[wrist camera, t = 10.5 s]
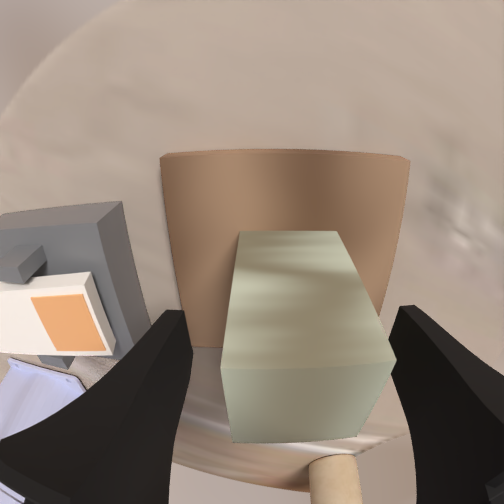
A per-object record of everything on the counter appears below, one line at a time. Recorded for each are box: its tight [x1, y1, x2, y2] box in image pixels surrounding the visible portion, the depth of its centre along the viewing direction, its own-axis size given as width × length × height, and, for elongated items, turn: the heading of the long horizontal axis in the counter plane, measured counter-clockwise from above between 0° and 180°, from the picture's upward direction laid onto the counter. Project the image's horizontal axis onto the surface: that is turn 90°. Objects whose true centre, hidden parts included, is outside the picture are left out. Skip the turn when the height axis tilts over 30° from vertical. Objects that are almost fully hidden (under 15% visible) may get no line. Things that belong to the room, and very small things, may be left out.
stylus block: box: [220, 231, 397, 443], centre depth 10 cm, size 4×4×7 cm
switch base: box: [0, 201, 151, 370], centre depth 13 cm, size 9×8×4 cm
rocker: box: [0, 272, 116, 356], centre depth 11 cm, size 8×4×1 cm, turn 91°
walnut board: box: [160, 149, 410, 348], centre depth 13 cm, size 10×10×1 cm
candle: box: [309, 454, 363, 504], centre depth 22 cm, size 6×6×10 cm
